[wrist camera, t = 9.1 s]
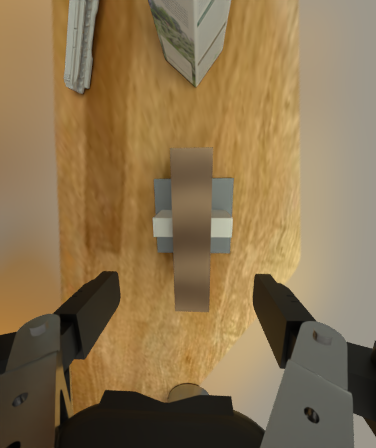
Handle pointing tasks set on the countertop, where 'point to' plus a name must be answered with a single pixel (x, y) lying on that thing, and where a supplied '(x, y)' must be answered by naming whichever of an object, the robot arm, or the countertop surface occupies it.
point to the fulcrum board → (217, 203)
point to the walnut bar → (191, 226)
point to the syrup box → (191, 33)
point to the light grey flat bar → (80, 44)
